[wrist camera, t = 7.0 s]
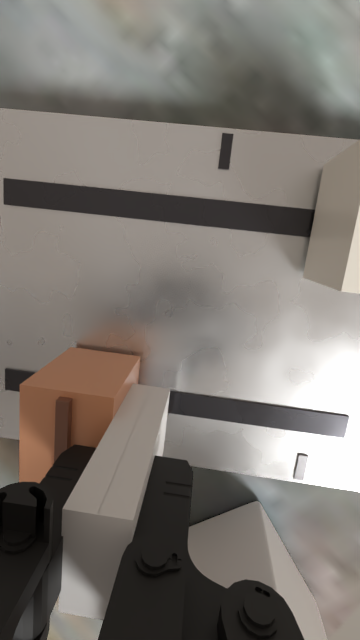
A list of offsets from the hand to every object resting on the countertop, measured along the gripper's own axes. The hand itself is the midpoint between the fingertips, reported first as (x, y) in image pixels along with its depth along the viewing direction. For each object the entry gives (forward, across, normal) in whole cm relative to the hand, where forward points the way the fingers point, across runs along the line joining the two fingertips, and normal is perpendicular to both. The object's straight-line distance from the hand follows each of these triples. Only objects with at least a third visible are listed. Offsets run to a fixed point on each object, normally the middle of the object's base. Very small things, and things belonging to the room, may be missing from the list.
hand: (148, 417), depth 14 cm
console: (+4, +1, +4) cm, 5 cm away
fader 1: (+1, -2, 0) cm, 3 cm away
